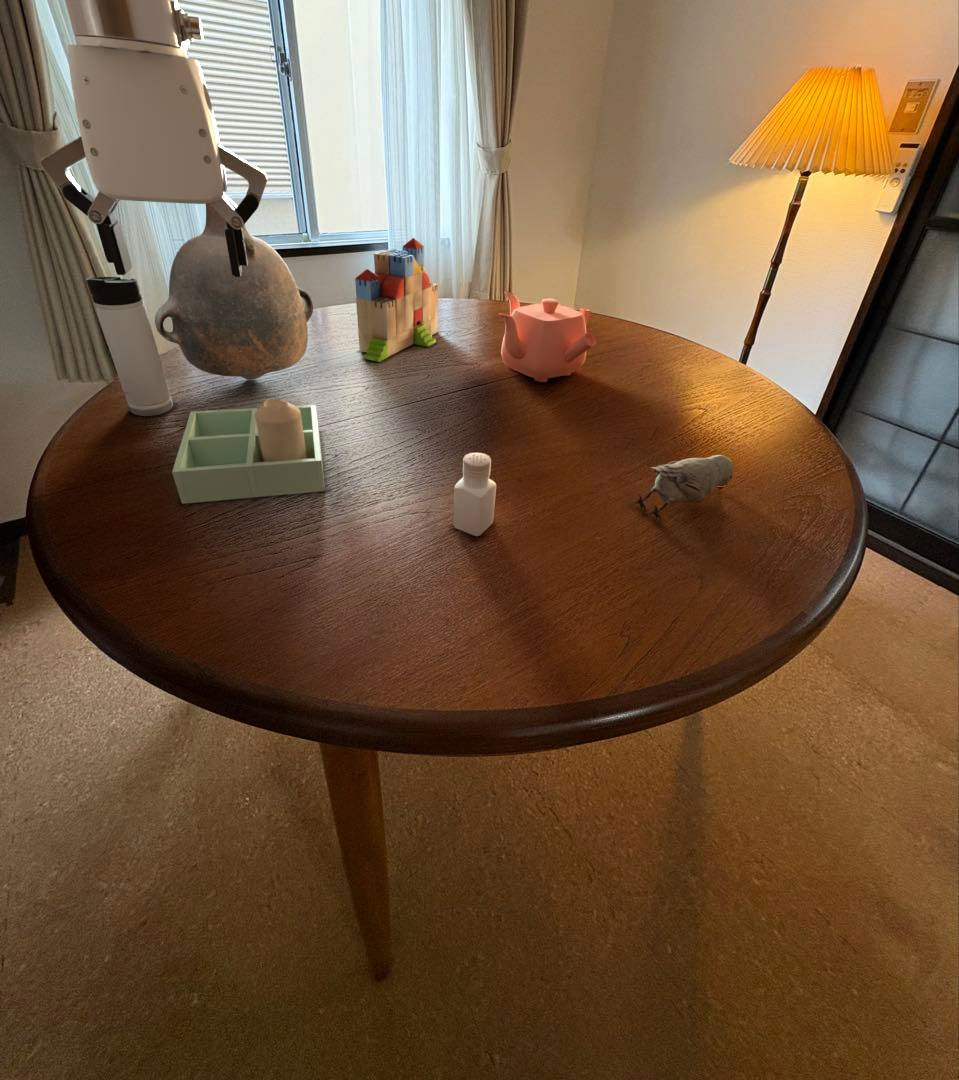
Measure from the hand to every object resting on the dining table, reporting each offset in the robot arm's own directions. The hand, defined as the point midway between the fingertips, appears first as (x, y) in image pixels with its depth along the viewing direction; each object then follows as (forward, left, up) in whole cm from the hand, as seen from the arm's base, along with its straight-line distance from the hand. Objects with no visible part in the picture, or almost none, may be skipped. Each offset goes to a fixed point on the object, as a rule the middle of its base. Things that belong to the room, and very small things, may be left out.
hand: (182, 272), depth 53 cm
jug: (0, +44, -28) cm, 52 cm away
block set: (+30, +63, -28) cm, 75 cm away
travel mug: (-15, +33, -28) cm, 46 cm away
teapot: (+55, +42, -28) cm, 74 cm away
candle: (+6, +8, -27) cm, 28 cm away
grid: (+2, +12, -27) cm, 30 cm away
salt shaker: (+28, -8, -28) cm, 40 cm away
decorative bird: (+58, -8, -28) cm, 64 cm away
